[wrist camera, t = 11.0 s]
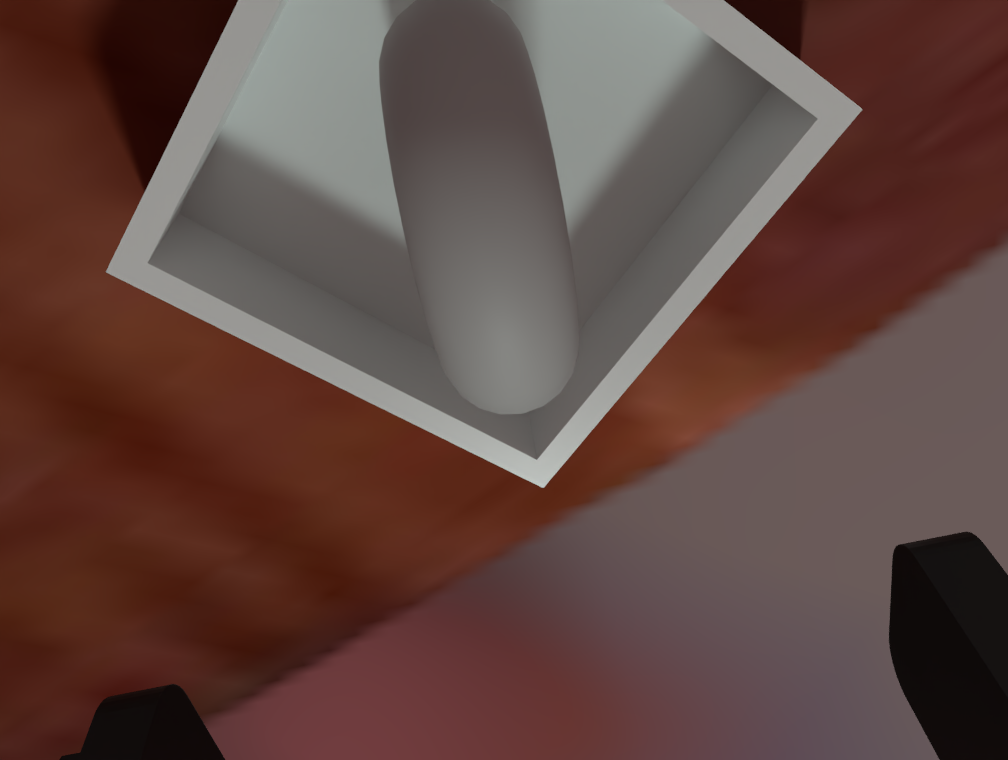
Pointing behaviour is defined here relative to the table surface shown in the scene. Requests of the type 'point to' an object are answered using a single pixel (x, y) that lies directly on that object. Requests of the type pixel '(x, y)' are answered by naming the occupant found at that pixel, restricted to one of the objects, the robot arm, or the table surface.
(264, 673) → the table surface
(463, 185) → the donut
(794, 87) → the walled tray
